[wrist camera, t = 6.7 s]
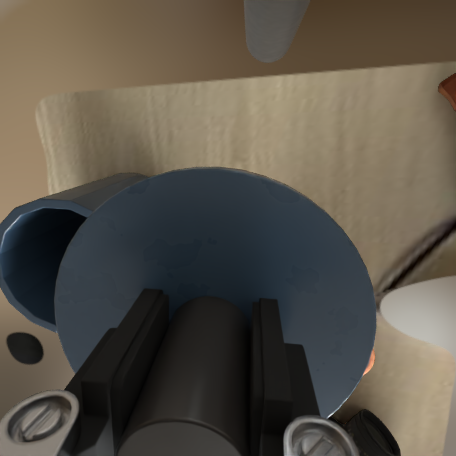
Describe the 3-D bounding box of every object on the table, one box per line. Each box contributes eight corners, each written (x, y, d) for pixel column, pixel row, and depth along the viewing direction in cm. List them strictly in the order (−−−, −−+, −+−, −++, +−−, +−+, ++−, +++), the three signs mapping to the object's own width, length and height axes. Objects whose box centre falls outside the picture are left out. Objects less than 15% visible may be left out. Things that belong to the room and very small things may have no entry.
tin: (85, 169, 33) (-21, 194, 20) (179, 175, 33) (132, 204, 20) (92, 257, 36) (3, 328, 23) (178, 264, 35) (137, 340, 22)
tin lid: (59, 154, 10) (-160, 178, 5) (391, 175, 10) (573, 229, 4) (83, 411, 13) (-34, 607, 8) (339, 438, 13) (405, 668, 7)
